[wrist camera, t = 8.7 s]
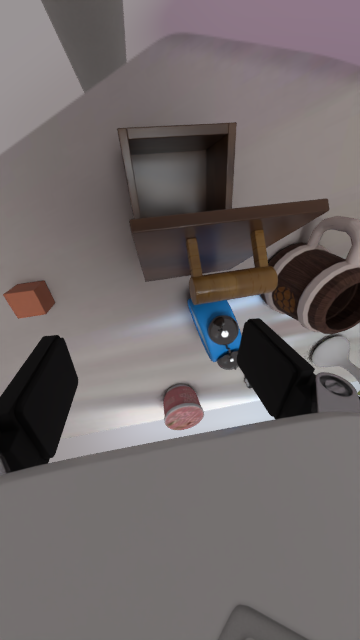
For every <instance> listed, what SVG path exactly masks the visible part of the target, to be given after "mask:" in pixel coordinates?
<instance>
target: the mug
mask: <svg viewBox="0 0 360 640" xmlns="http://www.w3.org/2000/svg"><path fill="white" fill-rule="evenodd" d="M330 229H334V230H338V231H343V232H346V233H347V234H348V235H349V236H350V237H351V242H352V247H351V249H350V251H349V253H348V256H347V258H346V259H343V258H341V257H338V256H336V255H334V254H332V253H331V252H330V251H328V250H327V249H326V248H324V247H323V246H321V245H318V244H319V241H320V239H321V237H322V235H323V233H324V232H325V231H327V230H330ZM268 266H272V267H273V268H274V269H275V270H276V272H277V276H278V283H277V287H276V289H275V290H274V291H273V292H271V293H265V294H261V297H262V299H263V300H264V301H265V302H266V304H268V305H269V306H270V307H271V309H273V310H275V311H277V312H279V313H282V314H287V315H289V316H291V317H292V318H294V319H296V320H298V321H299V322H300V323H301V325H302V326H303V327H305V328H308V329H310V330H312V331H314V332H322V333H324V334H334V333H338V332H342V331H345V330H348V329H350V328H352V327H354V326H355V325H356V324H358V323H359V322H360V221H359V220H358V219H354V218H348V217H341V216H335V217H331V218H327V219H324V220H322V221H321V222H320V224H319V225H318V226H317V227H316V228H315V229H314V230H313V232H312V234H311V236H310V238H309V241H308V243H307V244H306V243H298V244H293V245H290V246H289V247H287V248H285V249H283V250H281V251H280V252H279V253H278V254H277V255H276V256H274V257H273V258H272V259H271V261H270V262H269V264H268Z"/></svg>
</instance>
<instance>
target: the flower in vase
mask: <svg viewBox="0 0 360 640" xmlns="http://www.w3.org/2000/svg"><path fill="white" fill-rule="evenodd" d="M349 351H350V343H349V341H348V340H347V338H345V337H342V336H336V337H332V338H329V339H327V340H325V341H324V342H322V343H321V344H320V345H319V346H318V347H317V348H316V349H315V351H314V352H313V355H312V361H313V363H314V364H315V365H317V366H319V367H333V366H340V367H343V368H345V369H346V370H347V371H349V372H350V373H351V374H352V375H353V376H354V377H355V378H356V379H357V380H358V382H359V383H360V369H359V368H358V367H356V366H355V365H354V364H352V363H351V362H350V360H349ZM358 395H360V391H359V392H358Z"/></svg>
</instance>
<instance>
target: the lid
mask: <svg viewBox="0 0 360 640" xmlns="http://www.w3.org/2000/svg"><path fill="white" fill-rule="evenodd" d="M327 211H329V204H328V199H318V200H309V201H299V202H290V203H281V204H271V205H262V206H252V207H243V208H234V209H224V210H215V211H206V212H196V213H187V214H177V215H168V216H159V217H149V218H140V219H131V220H130V221H129V222H130V227H131V233H132V236H133V240H134V243H135V247H136V250H137V253H138V257H139V260H140V264H141V267H142V271H143V274H144V278H145V281H146V282H148V281H155V280H162V279H168V278H175V277H182V276H189V275H191V278H190V280H189V289H190V296H191V299H192V302H193V304H194V305H199V304H205V303H211V302H217V301H223V300H229V299H235V298H241V297H247V296H253V295H259V294H265V293H271V292H273V291H274V290H275V289H276V287H277V283H278V276H277V272H276V270H275V269H274V268H273V267H272V266H268V259H267V252H266V248H267V247H268V246H270V245H272V244H273V243H275V242H277V241H278V240H280V239H282V238H284V237H285V236H287V235H289V234H290V233H292V232H294V231H295V230H297V229H299V228H300V227H302V226H304V225H305V224H307V223H309V222H310V221H312V220H314V219H315V218H317V217H319V216H320V215H322V214H324V213H325V212H327ZM252 256H253V257H254V264H255V268H249V269H242V270H236V271H229V272H222V273H215V274H209V275H202V273H209V272H216V271H223V270H229V269H231V268H233V267H235V266H237V265H238V264H240V263H242V262H243V261H245V260H247V259H248V258H250V257H252Z"/></svg>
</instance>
